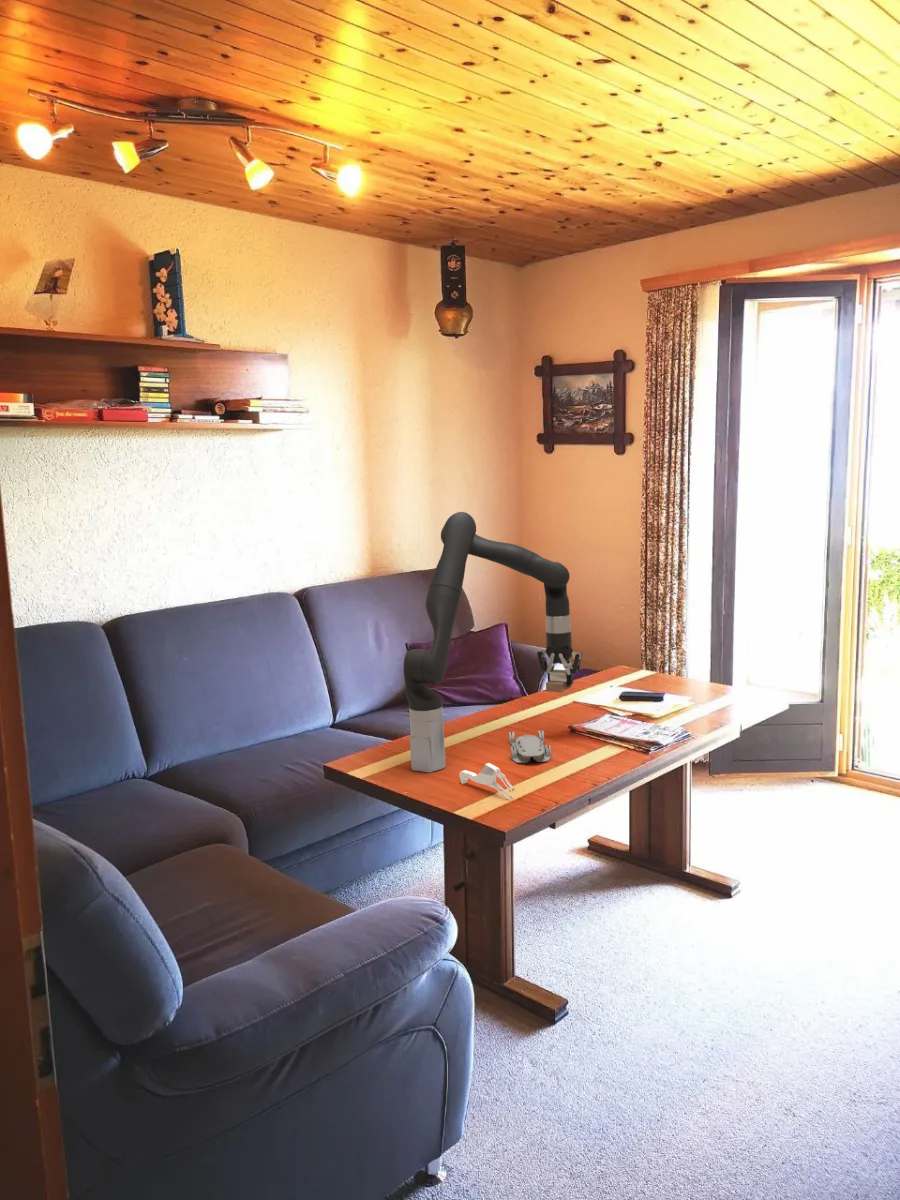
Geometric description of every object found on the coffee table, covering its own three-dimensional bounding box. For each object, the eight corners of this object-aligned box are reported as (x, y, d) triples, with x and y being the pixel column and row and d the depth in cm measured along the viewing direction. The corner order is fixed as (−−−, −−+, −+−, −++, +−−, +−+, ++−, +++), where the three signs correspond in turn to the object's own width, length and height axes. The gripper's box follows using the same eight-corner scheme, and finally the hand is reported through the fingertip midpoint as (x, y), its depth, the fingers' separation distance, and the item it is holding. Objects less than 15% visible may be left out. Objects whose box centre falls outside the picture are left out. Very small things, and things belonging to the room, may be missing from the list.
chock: (555, 685, 279) (555, 669, 279) (571, 686, 277) (570, 670, 276) (546, 691, 273) (545, 674, 273) (561, 692, 271) (561, 675, 270)
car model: (544, 739, 277) (543, 723, 276) (553, 766, 253) (552, 748, 252) (507, 741, 277) (506, 725, 276) (513, 768, 253) (512, 750, 252)
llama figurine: (507, 819, 233) (462, 778, 244) (517, 783, 228) (471, 743, 240) (501, 821, 232) (457, 780, 243) (511, 785, 227) (465, 745, 238)
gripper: (531, 631, 274) (533, 686, 277) (575, 633, 267) (578, 690, 269) (541, 626, 280) (544, 680, 283) (585, 628, 273) (587, 684, 276)
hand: (560, 685), depth 276 cm, fingers closed on chock, 5 cm apart
